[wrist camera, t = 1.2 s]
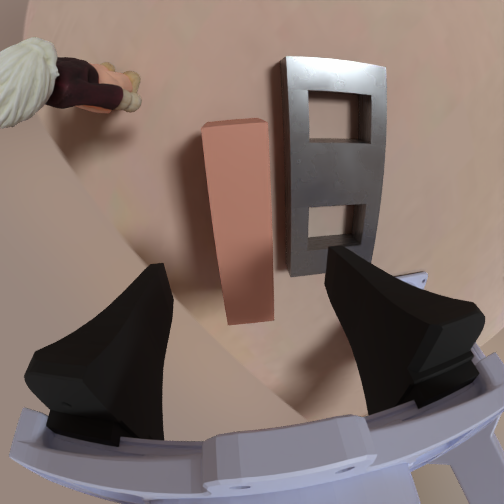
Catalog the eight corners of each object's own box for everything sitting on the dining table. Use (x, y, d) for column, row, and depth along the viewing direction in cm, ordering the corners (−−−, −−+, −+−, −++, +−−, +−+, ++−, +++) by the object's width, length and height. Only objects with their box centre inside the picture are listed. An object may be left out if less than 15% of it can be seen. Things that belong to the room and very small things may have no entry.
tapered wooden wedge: (262, 265, 23) (274, 320, 18) (226, 269, 23) (228, 325, 18) (253, 116, 17) (267, 122, 12) (209, 119, 17) (201, 128, 11)
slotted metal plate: (360, 254, 24) (370, 267, 22) (285, 263, 23) (290, 277, 22) (372, 68, 15) (385, 67, 14) (279, 60, 15) (286, 56, 13)
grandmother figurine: (68, 104, 15) (-65, 138, 4) (83, 56, 13) (-48, 44, 2) (157, 124, 17) (57, 168, 6) (176, 73, 15) (95, 30, 4)
